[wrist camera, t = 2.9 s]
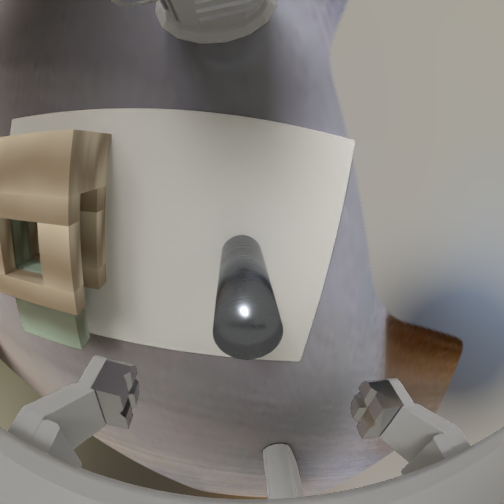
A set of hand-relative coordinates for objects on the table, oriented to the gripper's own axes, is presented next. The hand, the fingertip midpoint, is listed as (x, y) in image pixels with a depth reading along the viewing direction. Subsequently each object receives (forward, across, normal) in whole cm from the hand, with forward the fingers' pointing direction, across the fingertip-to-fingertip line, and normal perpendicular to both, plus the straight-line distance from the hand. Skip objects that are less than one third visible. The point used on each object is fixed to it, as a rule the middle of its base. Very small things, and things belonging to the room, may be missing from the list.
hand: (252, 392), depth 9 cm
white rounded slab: (+14, -10, +30) cm, 35 cm away
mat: (+14, +8, 0) cm, 16 cm away
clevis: (+13, +16, 0) cm, 21 cm away
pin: (+13, 0, 0) cm, 13 cm away
